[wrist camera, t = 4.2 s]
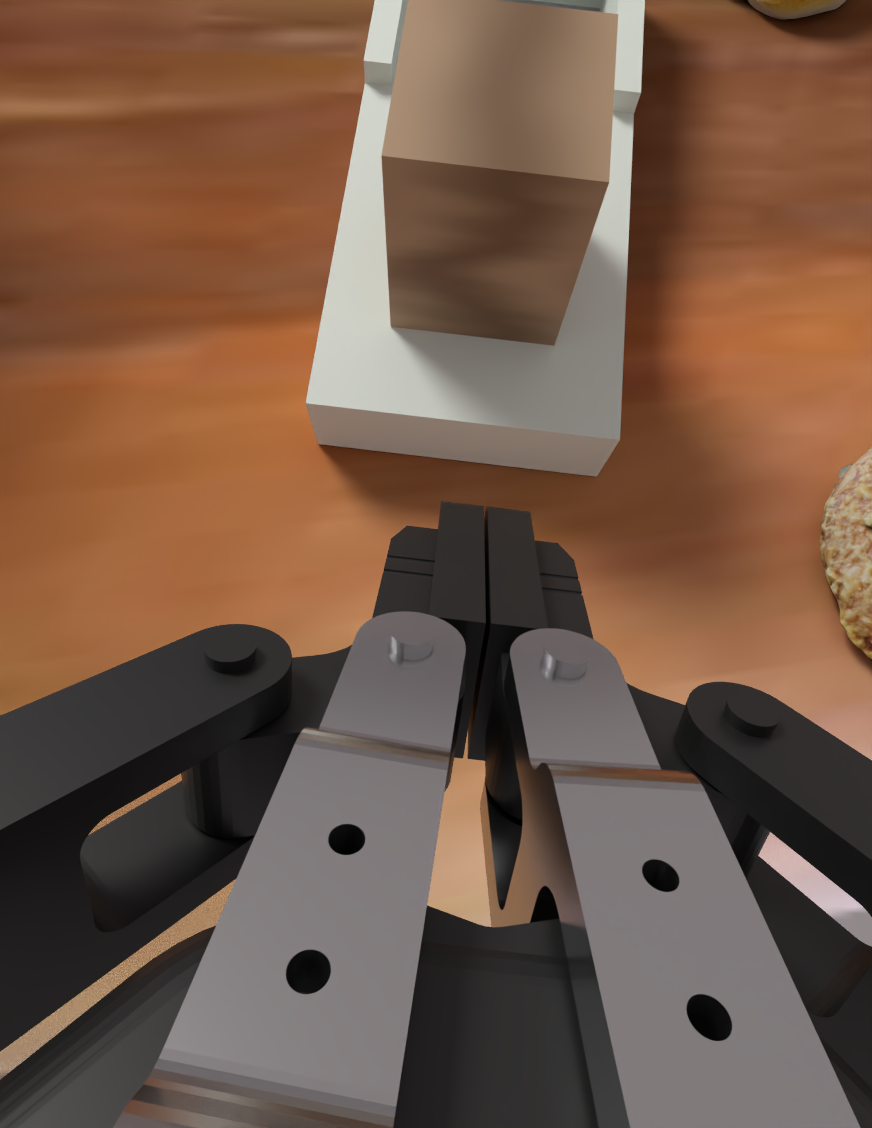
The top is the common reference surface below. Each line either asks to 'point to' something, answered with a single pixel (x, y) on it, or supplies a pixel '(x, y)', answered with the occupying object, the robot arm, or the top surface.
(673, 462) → the top surface
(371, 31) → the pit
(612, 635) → the top surface
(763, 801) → the robot arm
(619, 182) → the ledge
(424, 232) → the block
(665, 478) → the top surface
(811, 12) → the bread roll
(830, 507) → the bread roll
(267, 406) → the top surface
